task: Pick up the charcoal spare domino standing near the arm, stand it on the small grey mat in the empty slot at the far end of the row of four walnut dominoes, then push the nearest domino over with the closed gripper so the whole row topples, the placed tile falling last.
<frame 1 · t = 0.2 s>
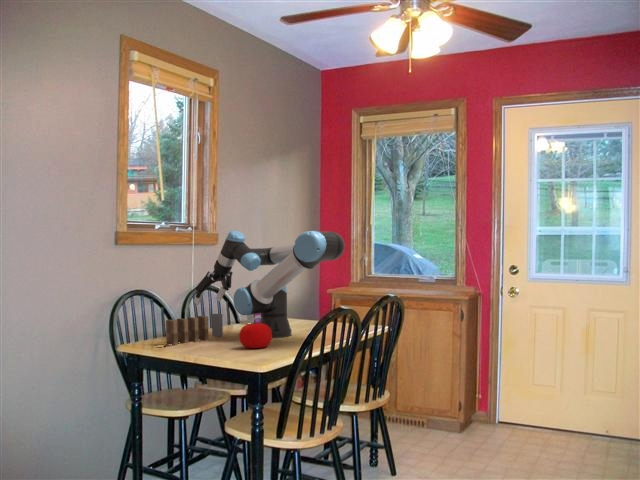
hand: (207, 301, 286), 15 cm above the table, tool tilted 35°, fingers open, 13 cm apart
domino 4: (172, 344, 258), on the table
domino 3: (182, 343, 262), on the table
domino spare: (217, 336, 280), on the table
end mat: (160, 346, 253), on the table
domino 1: (203, 339, 271), on the table
candy bar box: (257, 324, 326), on the table
tomato: (255, 348, 243), on the table
domino 2: (193, 341, 266), on the table
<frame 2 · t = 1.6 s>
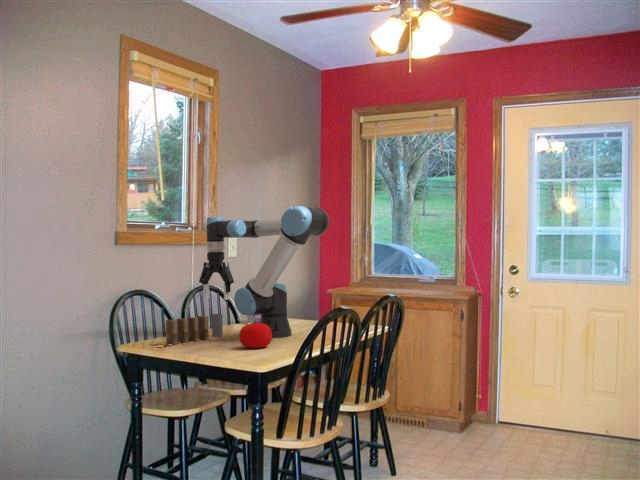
hand: (216, 299, 280), 17 cm above the table, tool pointing down, fingers open, 13 cm apart
nothing on the table moved.
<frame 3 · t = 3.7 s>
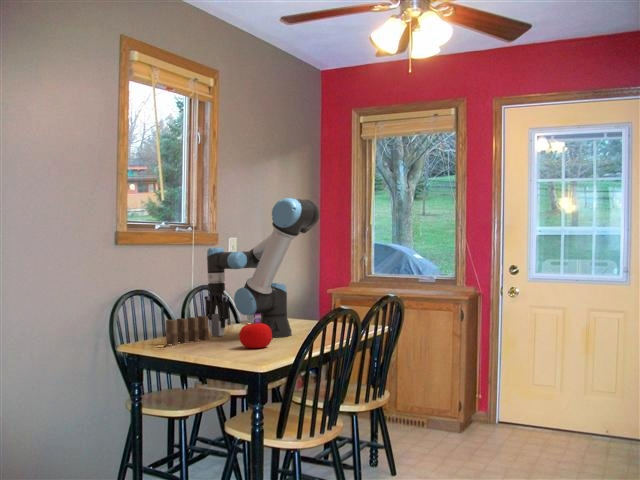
hand: (217, 334, 280), 1 cm above the table, tool pointing down, fingers closed on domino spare, 5 cm apart
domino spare: (217, 336, 280), on the table, touching gripper
everything else where it was.
when the fingers open (2 cm above the table, at t = 9.7 s): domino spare stays where it is, resting on end mat.
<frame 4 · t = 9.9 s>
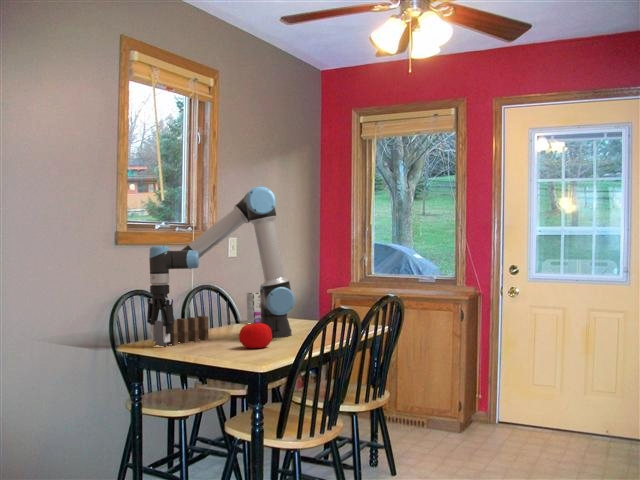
hand: (160, 341, 253), 2 cm above the table, tool pointing down, fingers open, 7 cm apart
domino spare: (161, 345, 253), resting on end mat
everything else where it was.
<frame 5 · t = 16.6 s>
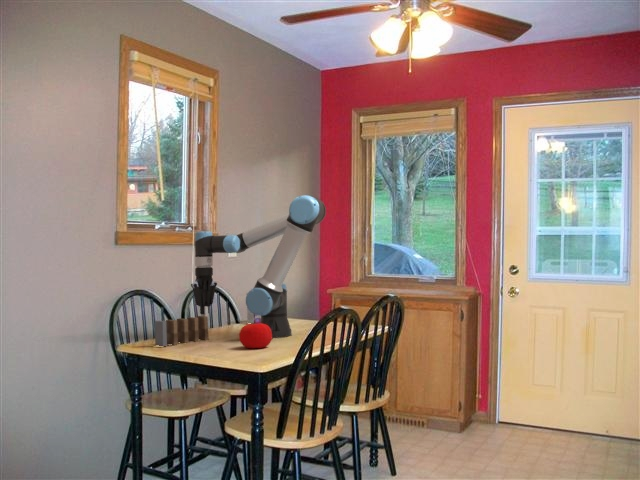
hand: (204, 321, 272), 8 cm above the table, tool pointing down, fingers closed
domino 1: (203, 339, 271), on the table, touching gripper
everything else where it was.
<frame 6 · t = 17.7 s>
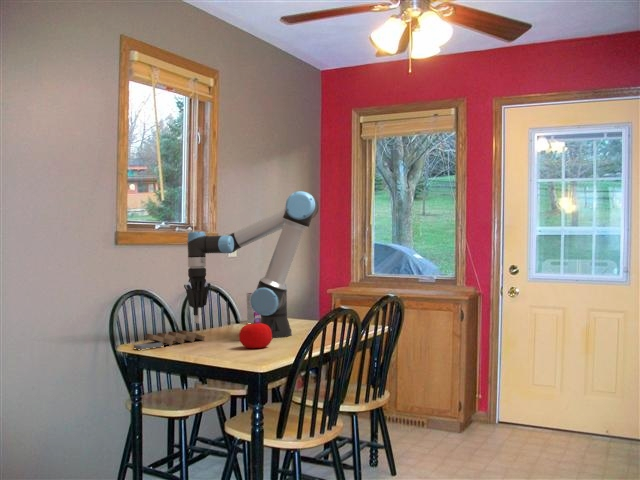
hand: (198, 322, 269), 7 cm above the table, tool pointing down, fingers closed
domino 4: (168, 342, 256), point 1 cm above the table, tilted 69°, touching domino 3, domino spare
domino 3: (179, 341, 261), point 1 cm above the table, tilted 69°, touching domino 2, domino 4
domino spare: (158, 343, 253), point 1 cm above the table, tilted 91°, touching domino 4, end mat
domino 1: (200, 338, 269), point 1 cm above the table, tilted 70°, touching domino 2
domino 2: (190, 339, 265), point 1 cm above the table, tilted 70°, touching domino 1, domino 3
everything else where it was.
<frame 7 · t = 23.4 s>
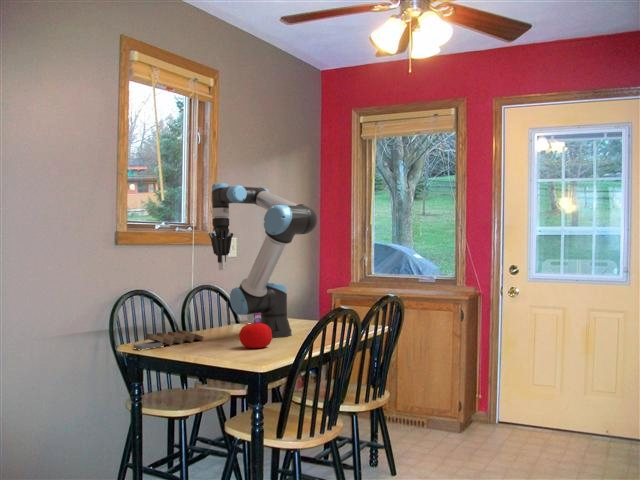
hand: (222, 269, 284), 29 cm above the table, tool pointing down, fingers closed
at the end: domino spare tilted 91°; domino 4 tilted 68°; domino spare inside the target area (2.5 cm from its centre), point 1.1 cm above the table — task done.
